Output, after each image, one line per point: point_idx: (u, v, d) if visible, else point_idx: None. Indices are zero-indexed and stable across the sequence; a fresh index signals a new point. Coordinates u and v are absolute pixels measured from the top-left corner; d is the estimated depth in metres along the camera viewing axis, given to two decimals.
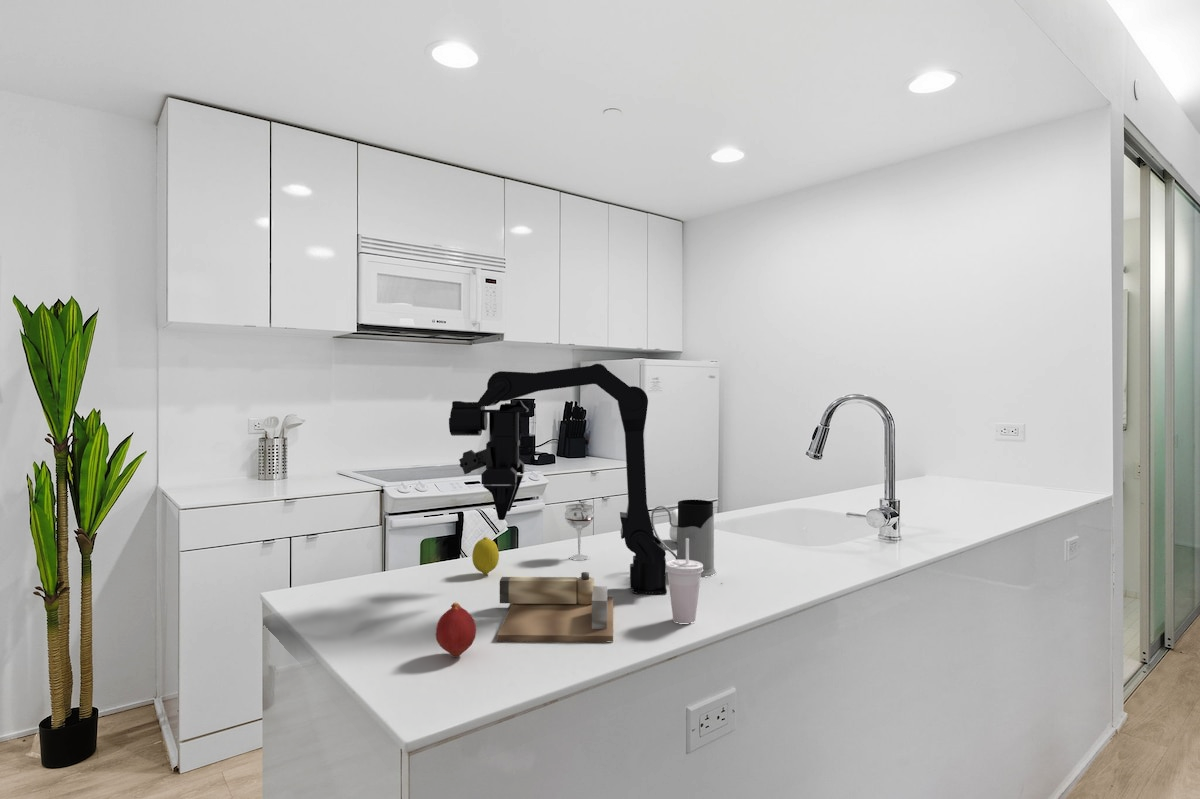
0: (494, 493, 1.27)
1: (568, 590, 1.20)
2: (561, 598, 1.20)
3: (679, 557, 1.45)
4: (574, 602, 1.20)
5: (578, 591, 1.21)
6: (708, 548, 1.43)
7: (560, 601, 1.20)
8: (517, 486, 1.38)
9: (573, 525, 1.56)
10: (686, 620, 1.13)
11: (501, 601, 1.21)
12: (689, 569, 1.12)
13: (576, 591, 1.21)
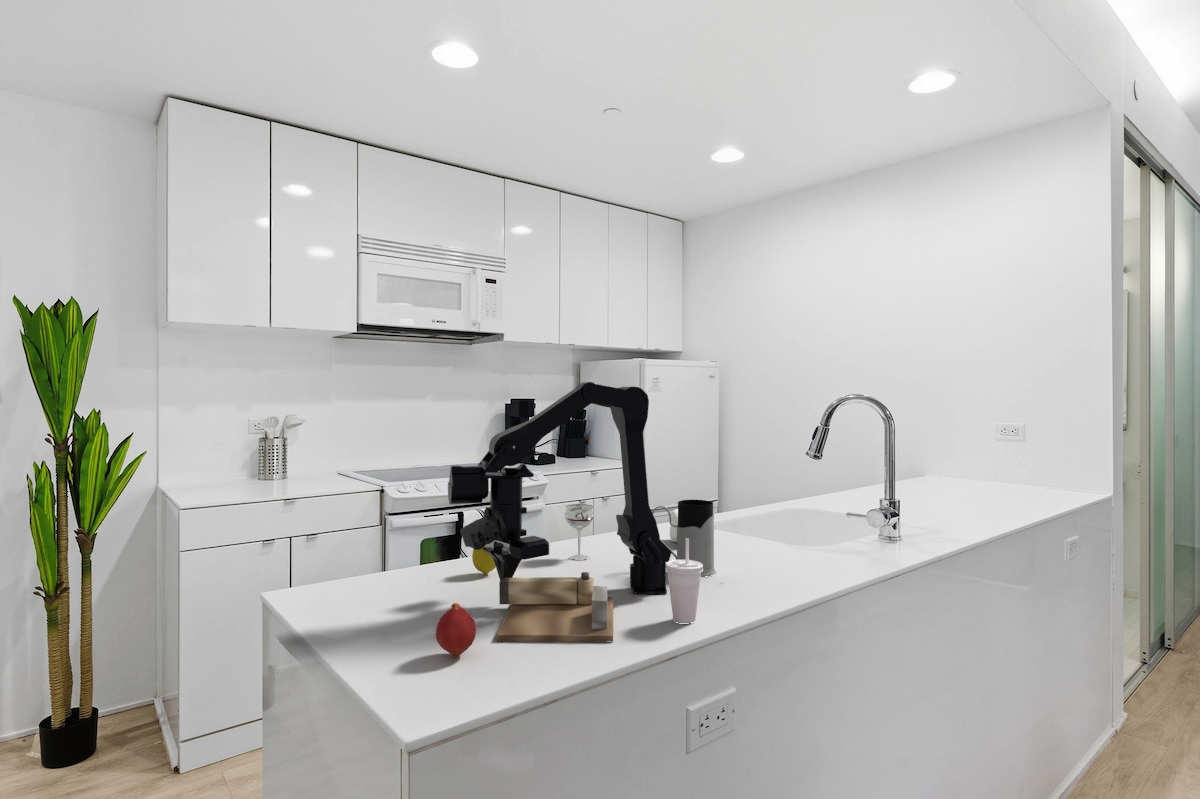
0: (506, 561, 1.22)
1: (568, 590, 1.20)
2: (561, 598, 1.20)
3: (679, 557, 1.45)
4: (574, 602, 1.20)
5: (578, 591, 1.21)
6: (708, 548, 1.43)
7: (560, 601, 1.20)
8: None
9: (573, 525, 1.56)
10: (686, 620, 1.13)
11: (501, 602, 1.20)
12: (689, 569, 1.12)
13: (576, 591, 1.21)
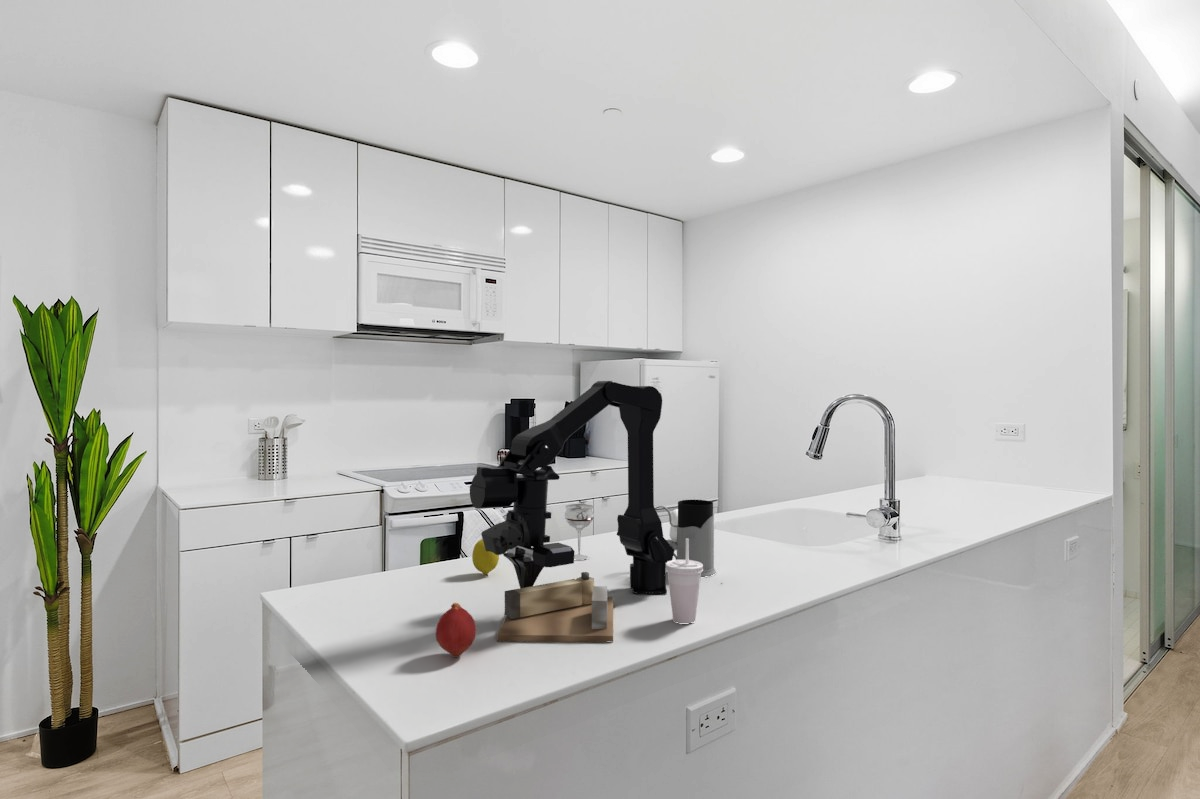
0: (527, 568, 1.16)
1: (574, 592, 1.19)
2: (568, 601, 1.18)
3: (679, 557, 1.45)
4: (580, 603, 1.20)
5: (582, 592, 1.20)
6: (708, 548, 1.43)
7: (568, 605, 1.18)
8: None
9: (573, 525, 1.56)
10: (686, 620, 1.13)
11: (513, 616, 1.13)
12: (689, 569, 1.12)
13: None
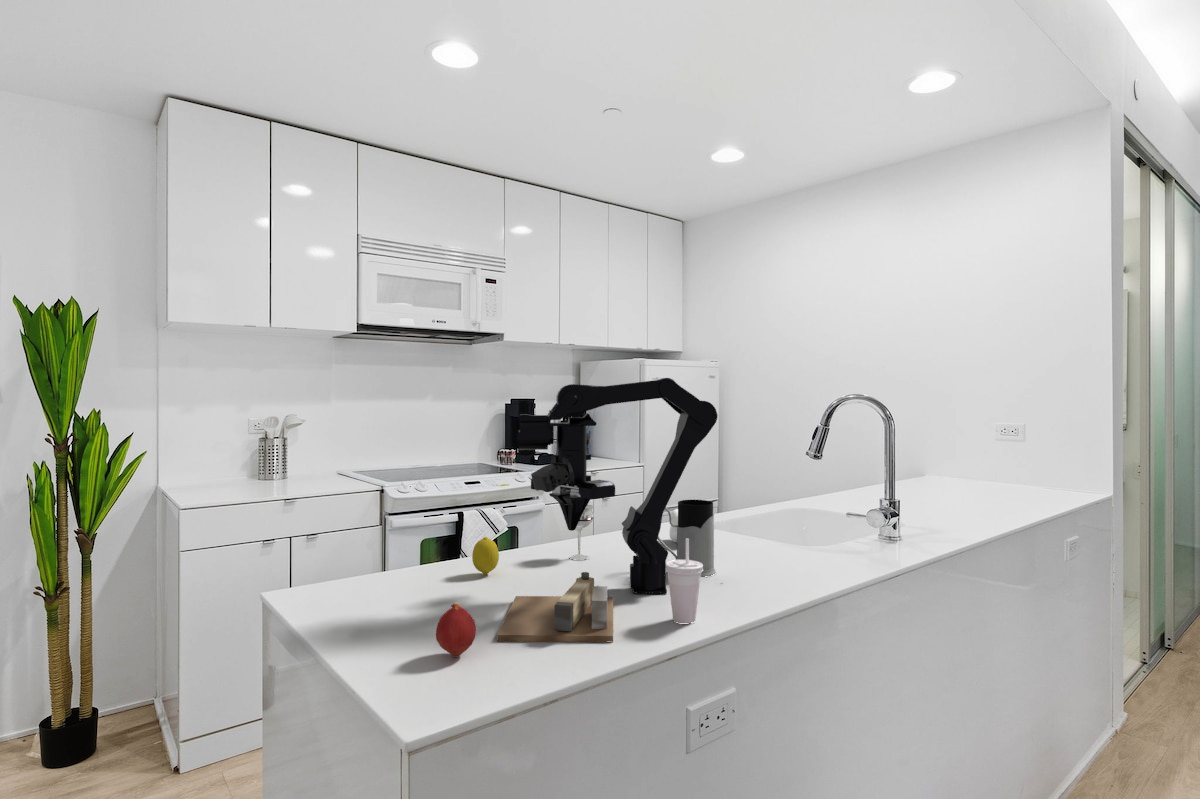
0: (574, 504, 1.29)
1: (588, 593, 1.19)
2: (586, 603, 1.17)
3: (679, 557, 1.45)
4: (589, 603, 1.20)
5: (589, 591, 1.20)
6: (708, 548, 1.43)
7: (586, 607, 1.17)
8: None
9: None
10: (686, 620, 1.13)
11: (570, 628, 1.07)
12: (689, 569, 1.12)
13: None
